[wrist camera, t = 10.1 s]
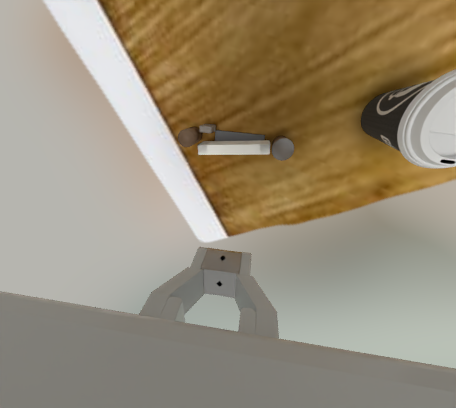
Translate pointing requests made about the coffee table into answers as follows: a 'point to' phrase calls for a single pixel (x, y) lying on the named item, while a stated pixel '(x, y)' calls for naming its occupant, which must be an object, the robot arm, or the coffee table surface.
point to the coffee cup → (417, 121)
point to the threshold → (236, 136)
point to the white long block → (234, 147)
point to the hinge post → (282, 148)
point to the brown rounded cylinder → (194, 134)
